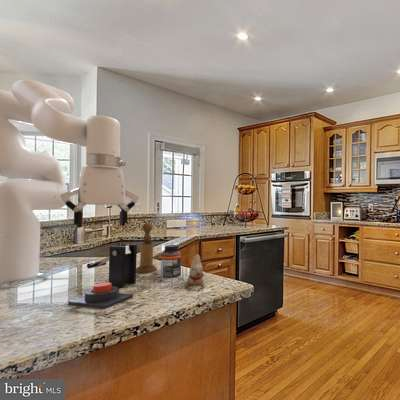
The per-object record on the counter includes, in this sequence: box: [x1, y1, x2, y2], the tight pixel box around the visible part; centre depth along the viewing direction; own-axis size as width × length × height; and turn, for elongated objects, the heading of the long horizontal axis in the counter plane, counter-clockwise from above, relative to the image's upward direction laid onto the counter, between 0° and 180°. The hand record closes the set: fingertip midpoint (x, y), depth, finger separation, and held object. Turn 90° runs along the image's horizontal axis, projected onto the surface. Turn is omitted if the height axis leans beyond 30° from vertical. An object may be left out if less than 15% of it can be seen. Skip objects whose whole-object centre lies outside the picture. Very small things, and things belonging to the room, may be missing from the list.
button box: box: [67, 286, 134, 310], centre depth 67 cm, size 10×8×4 cm
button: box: [92, 281, 112, 293], centre depth 67 cm, size 4×4×2 cm
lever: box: [86, 245, 131, 269], centre depth 81 cm, size 12×5×2 cm, turn 78°
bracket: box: [108, 243, 138, 289], centre depth 80 cm, size 10×8×13 cm
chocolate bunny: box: [186, 254, 205, 290], centre depth 84 cm, size 6×8×10 cm
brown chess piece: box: [136, 222, 158, 274], centre depth 97 cm, size 7×6×18 cm
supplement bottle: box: [160, 244, 182, 279], centre depth 91 cm, size 6×6×11 cm
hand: (101, 226), depth 75 cm, fingers open, 9 cm apart
